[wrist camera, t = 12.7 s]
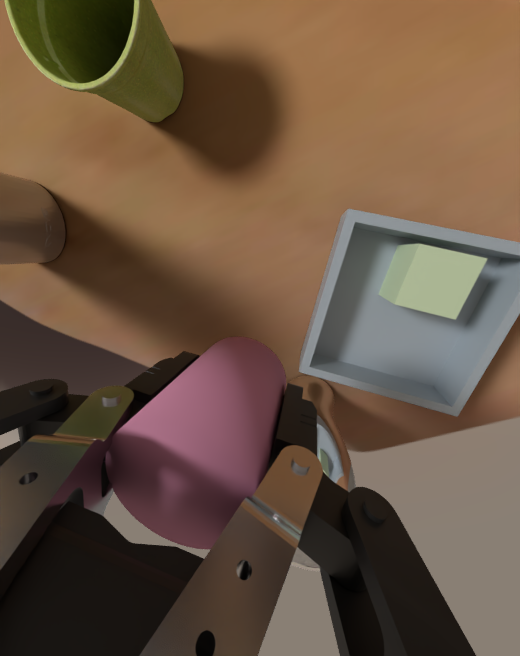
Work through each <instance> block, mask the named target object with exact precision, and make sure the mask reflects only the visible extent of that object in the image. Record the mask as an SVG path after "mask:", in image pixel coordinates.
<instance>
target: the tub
mask: <svg viewBox="0 0 520 656" xmlns="http://www.w3.org/2000/svg"><path fill="white" fill-rule="evenodd" d="M407 244H424V245H429V246H433V247H438V248H442V249H447V250H451V251H456V252H460V253H465V254H469V255H474V256H478V257H483V258H488V259H487V261H486V263H485V265H484V267H483V268H482V270H481V272H480V274H479V276H478V278H477V280H476V282H475V284H474V286H473V287H472V289H471V291H470V293H469V295H468V297H467V299H466V301H465V303H464V305H463V307H462V308H461V310H460V312H459V314H458V316H457V318H456V320H455V319H451V318H447V317H443V316H439V315H435V314H431V313H427V312H423V311H419V310H415V309H411V308H407V307H403V306H399V305H395V304H393V303H391V302H390V301H388V300H386V299H385V298H383V297H382V296H380V295H378V294H379V292H380V289H381V287H382V284H383V282H384V279H385V276H386V274H387V271H388V269H389V266H390V264H391V261H392V259H393V256H394V254H395V251H396V249H397V246H398V245H407ZM519 314H520V243H519V242H514V241H509V240H504V239H499V238H494V237H489V236H483V235H478V234H473V233H468V232H463V231H458V230H453V229H448V228H443V227H438V226H433V225H428V224H423V223H418V222H413V221H408V220H403V219H398V218H393V217H388V216H383V215H378V214H373V213H368V212H363V211H358V210H353V209H347V211H346V212H345V213H344V214H343V215H342V216H341V219H340V222H339V226H338V229H337V233H336V236H335V239H334V243H333V246H332V249H331V253H330V256H329V260H328V263H327V266H326V270H325V273H324V276H323V280H322V283H321V287H320V290H319V293H318V297H317V300H316V304H315V307H314V310H313V314H312V317H311V320H310V324H309V327H308V331H307V334H306V337H305V341H304V344H303V347H302V351H301V354H300V366H299V372H301V373H305V374H308V375H312V376H315V377H319V378H322V379H326V380H329V381H333V382H337V383H340V384H344V385H347V386H351V387H354V388H358V389H361V390H365V391H368V392H372V393H375V394H379V395H382V396H386V397H389V398H393V399H397V400H400V401H404V402H407V403H411V404H414V405H418V406H421V407H425V408H428V409H432V410H435V411H439V412H442V413H446V414H449V415H453V416H457V417H458V415H459V413H460V412H461V410H462V409H463V407H464V405H465V404H466V402H467V400H468V399H469V397H470V395H471V394H472V392H473V390H474V389H475V387H476V385H477V384H478V382H479V380H480V379H481V377H482V375H483V374H484V372H485V370H486V369H487V367H488V365H489V364H490V362H491V360H492V359H493V357H494V355H495V354H496V352H497V350H498V349H499V347H500V345H501V344H502V342H503V340H504V339H505V337H506V335H507V334H508V332H509V330H510V329H511V327H512V325H513V324H514V322H515V320H516V319H517V317H518V315H519Z"/></svg>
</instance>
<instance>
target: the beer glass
mask: <svg viewBox="0 0 520 656" xmlns="http://www.w3.org/2000/svg"><path fill="white" fill-rule="evenodd" d="M288 383H291V384H294V385H297V386H300V387H303V397H302V399H305V400H308V401H311V402H313V404H314V406H315V408H316V410H317V458H318V459H319V461H320V462H321V465H322V468H323V472H324V473H325V474H326V475H327V476H328V477H329V478H330V479H331V480H332V481H333V482H335V483H336V484H338V485H339V486H341V487H342V488H344V489H345V490H347V491H348V492H350V491H351V490H352V489H354V488H356V485H355V478H354V473H353V469H352V465H351V460H350V457H349V454H348V451H347V448H346V446H345V443H344V441H343V438H342V436H341V433H340V431H339V429H338V427H337V424H336V422H335V419H334V416H333V408H334V393H333V391H332V389H331V387H330V386H329V385H328V384H327V383H326V382H325V381H324V380H322V379H320V378H318V377H315V376H309V375H305V376H299V377H296V378H294V379H292V380H291V381H289V382H288ZM286 387H287V385H286ZM285 390H286V389H285ZM284 394H285V393H284ZM291 565H292V566H295V567H298V568H301V569H306V570H312V571H320V567H319V565H318V564H317V563H315V562H314V561H313V560H312V559H311V558H310V557H308V556H307V555H306V554H305V553H304V552H302V551H301V550H300V549H299V548H298V547H297V549H296V551H295V554H294V557H293V560H292V562H291Z"/></svg>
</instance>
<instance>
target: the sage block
mask: <svg viewBox="0 0 520 656" xmlns="http://www.w3.org/2000/svg"><path fill="white" fill-rule="evenodd" d="M487 259H488V258H483V257H478V256H474V255H469V254H465V253H460V252H456V251H451V250H447V249H442V248H438V247H433V246H429V245H424V244H407V245H398V246H397V249H396V251H395V254H394V256H393V259H392V261H391V264H390V266H389V269H388V271H387V274H386V276H385V279H384V282H383V284H382V287H381V289H380V292H379V294H378V295H380V296H382V297H383V298H385V299H386V300H388V301H390V302H391V303H393V304H395V305H399V306H403V307H407V308H411V309H415V310H419V311H423V312H427V313H431V314H435V315H439V316H443V317H447V318H451V319H455V320H456V318H457V316H458V314H459V312H460V310H461V308H462V307H463V305H464V303H465V301H466V299H467V297H468V295H469V293H470V291H471V289H472V287H473V286H474V284H475V282H476V280H477V278H478V276H479V274H480V272H481V270H482V268H483V267H484V265H485V263H486V261H487Z"/></svg>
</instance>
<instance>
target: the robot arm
mask: <svg viewBox="0 0 520 656" xmlns="http://www.w3.org/2000/svg"><path fill="white" fill-rule="evenodd" d="M64 243H65V224H64V220H63V216H62V213H61V211H60V209H59V207H58V205H57V203H56V202H55V200H54V199H53V197H52V196H51V195H50V194H49V193H48V192H47V190H46V189H44V188H43V187H42V186H40V185H39V184H37V183H35V182H33V181H31V180H27V179H23V178H19V177H15V176H11V175H8V174H4V173H0V264H24V263H46V262H50V261H52V260H54V259H55V258H57V257H58V255H59V254H60V253H61V251H62V249H63V247H64ZM199 357H200V356H199V355H196V354H192V353H189V352H186V351H183V352H182V353H181V354H179V355H178V356H177V357H175V358H174V359H173V358H168V359H165V360H162V361H159V362H158V363H156V364H155V365H154V366H153V367H151V368H149V369H148V370H146V372H144V373H142V374H141V375H139V376H138V377H136V378H135V379H134V380H132V381H131V382H129V383H128V384H126V385H125V386H108V387H105V388H101V389H99V390H96V391H95V392H94V393H92V394H91V395H90V396H84V395H73V394H68V385H67V383H65V382H64V381H61V380H57V379H44V380H38V381H34V382H30V383H27V384H24V385H20V386H17V387H14V388H11V389H8V390H4V391H1V392H0V435H2V434H4V433H7V432H9V431H11V430H14V429H16V428H18V432H19V437H20V441H18V442H16V443H14V444H12V445H9V446H7V447H5V448H3V449H1V450H0V656H258V654H259V651H260V648H261V645H262V642H263V640H264V637H265V634H266V631H267V629H268V626H269V623H270V620H271V617H272V615H273V612H274V609H275V606H276V604H277V601H278V598H279V595H280V592H281V590H282V587H283V584H284V582H285V579H286V576H287V573H288V571H289V568H290V565H291V562H292V560H293V557H294V554H295V551H296V549H297V547H298V548H299V549H300V550H301V551H302V552H304V553H305V554H306V555H307V556H308V557H310V558H311V559H312V560H313V561H314V562H315V563H317V564H318V565H319V567H320V572H321V576H322V581H323V585H324V589H325V593H326V598H327V602H328V606H329V611H330V615H331V619H332V623H333V628H334V632H335V636H336V640H337V645H338V649H339V653H340V656H476V655H475V653H474V651H473V649H472V647H471V646H470V644H469V642H468V640H467V639H466V637H465V635H464V633H463V631H462V630H461V628H460V626H459V624H458V623H457V621H456V619H455V617H454V615H453V613H452V612H451V610H450V608H449V606H448V605H447V603H446V601H445V599H444V597H443V596H442V594H441V592H440V590H439V588H438V587H437V585H436V583H435V581H434V579H433V578H432V576H431V574H430V572H429V571H428V569H427V567H426V565H425V563H424V562H423V560H422V558H421V556H420V555H419V553H418V551H417V549H416V547H415V545H414V544H413V542H412V540H411V538H410V537H409V535H408V533H407V531H406V529H405V528H404V526H403V524H402V522H401V520H400V518H399V517H398V515H397V513H396V512H395V510H394V509H393V507H392V506H391V505H390V503H389V502H388V501H387V500H386V499H385V498H383V497H382V496H381V495H380V494H378V493H377V492H375V491H373V490H371V489H368V488H365V487H356V488H354V489H352V490H351V491H350V492H348V491H347V490H345V489H344V488H342V487H341V486H339V485H338V484H336V483H335V482H333V481H332V480H331V479H330V478H329V477H328V476H327V475H326V474H325V473H324V472H323V468H322V465H321V462H320V461H319V459H318V458H317V410H316V408H315V406H314V404H313V402H311V401H308V400H305V399H302V397H303V387H300V386H297V385H294V384H291V383H288V384H287V387H286V390H285V394H284V398H283V402H282V407H281V411H280V416H279V420H278V425H277V429H276V434H275V438H274V443H273V447H272V452H271V456H270V461H269V466H268V470H267V474H266V476H265V477H264V479H263V480H262V482H261V483H260V485H259V487H258V488H257V490H256V491H255V493H254V494H253V496H252V497H250V496H247V497H246V498H245V499H244V501H243V502H242V503H241V505H240V506H239V508H238V509H237V511H236V512H235V514H234V515H233V517H232V518H231V520H230V521H229V523H228V524H227V526H226V527H225V529H224V530H223V532H222V533H221V535H220V536H219V538H218V539H217V541H216V542H215V544H214V545H213V547H212V548H211V550H210V551H209V553H208V554H207V556H206V557H205V558H204V559H203V558H201V557H199V556H196V555H194V554H191V553H189V552H187V551H185V550H182V549H180V548H178V547H171V546H159V545H147V544H135V543H131V542H129V541H128V540H126V539H125V538H124V537H123V536H122V535H121V534H120V533H119V532H118V531H117V530H116V529H115V528H114V527H113V526H112V525H111V524H110V523H109V522H108V521H107V520H106V519H105V518H104V517H103V515H104V511H105V509H106V506H107V504H108V502H109V500H110V498H111V496H112V494H113V492H114V490H113V488H112V483H111V482H110V481H109V479H108V476H107V471H106V464H105V457H106V453H107V451H108V450H109V448H110V446H111V445H112V437H113V435H114V434H115V433H116V432H117V431H118V430H119V429H120V428H121V427H122V426H123V425H125V424H126V423H127V422H128V421H129V420H130V419H131V418H132V417H133V416H135V415H136V414H137V413H138V412H139V411H140V410H141V409H142V408H143V407H145V406H146V405H147V404H148V403H149V402H150V401H151V400H152V399H153V398H155V397H156V396H157V395H158V394H159V393H160V392H161V391H162V390H163V389H165V388H166V387H167V386H168V385H169V384H170V383H171V382H172V381H173V380H175V379H176V378H177V377H178V376H179V375H180V374H181V373H182V372H183V371H185V370H186V369H187V368H188V367H189V366H190V365H191V364H192V363H193V362H194V361H196V360H197V359H198V358H199Z"/></svg>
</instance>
